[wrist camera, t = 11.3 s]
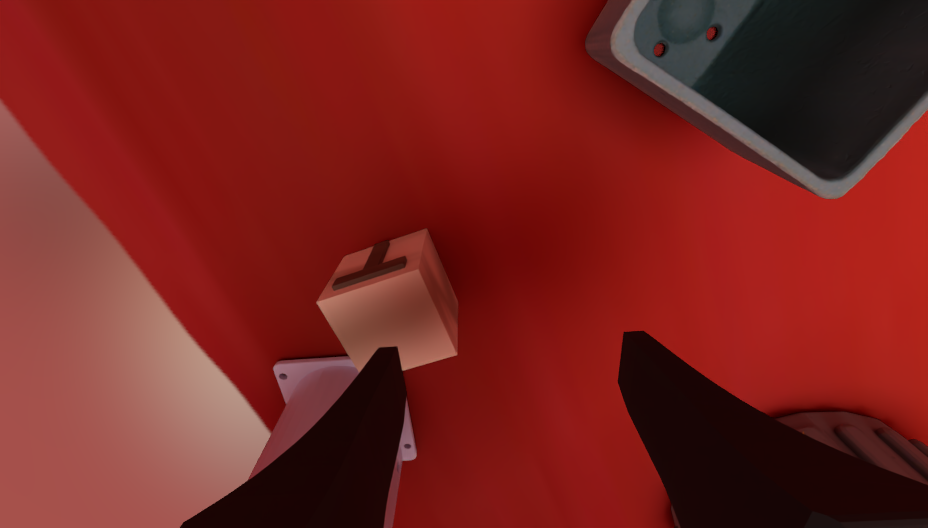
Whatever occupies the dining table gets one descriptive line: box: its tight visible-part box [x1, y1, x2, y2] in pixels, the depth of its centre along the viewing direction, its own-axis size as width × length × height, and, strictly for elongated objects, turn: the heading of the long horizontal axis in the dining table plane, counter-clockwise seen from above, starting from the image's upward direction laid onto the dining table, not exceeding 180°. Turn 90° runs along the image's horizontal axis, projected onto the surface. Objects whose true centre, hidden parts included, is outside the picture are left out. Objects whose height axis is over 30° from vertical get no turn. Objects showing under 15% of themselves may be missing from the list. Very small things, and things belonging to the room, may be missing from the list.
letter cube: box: [316, 228, 458, 372], centre depth 21 cm, size 5×5×5 cm
